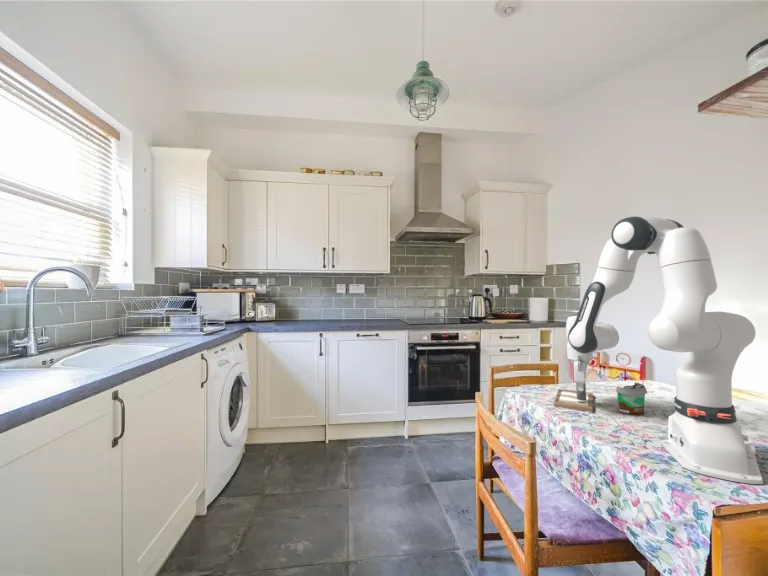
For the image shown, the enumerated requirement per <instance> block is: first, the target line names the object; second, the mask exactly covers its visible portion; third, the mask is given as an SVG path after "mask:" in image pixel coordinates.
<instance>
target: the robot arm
mask: <svg viewBox="0 0 768 576" xmlns="http://www.w3.org/2000/svg"><path fill="white" fill-rule="evenodd" d="M703 237H704V236H702V234H701V232H700V231H699V230H697V229H696V228H692V227H685V226H683V225H682V224H681V223H680V222H678V221H675V220H673V219H663V218H658V217H653V216H635V215H634V216H628V217H626V218H622V219H620V220H618V221H617V222H616V224H614V226H613V228H612V230H611V238H609V239H608V240H607V241H606V242H605V245H604V247H603V249H602V251H601V254H600V256H599V260H598V264H597V268H596V270H595V271H596V272H595V275H594V277H593V279H592V281H591V283H590V284H589V285H588V287H587V289H586V290H585V293H584V296H583V298H582V301H581V303H580V308H579V310H578V313H577V314H572V315H569V316H568V317H567V319H566V323H565V336H566V339H567V342H566V358H567V359H568V360H570V362H571V364H573V381H574V383H575V384H576V383H577V384H578V390H579V391H584V387H583V385H584V383H585V384H586V378H587V371H588V365H590V361H593V360H594V356H593V355H594V352H597V351H603V350H604V351H605V350H609V349H610V350H611V349H612V348H615V347H616V346H617V345H618V344H619V341H620V336H619V332H618V330H617V329H616V328H615V327H614V326H613V325H611V324H608V323H604V322H602V321H599V320H598V319H599V316H600V313H601V310H602V308H603V306H604V304H605V303H606V302H607V301H609V300H611V298H614V297H615V296H617V295H620V294H621V293H624V291H627V290H628V289H629V288H630V286H631V285H632V283H633V281H634V279H635V278H634V277H635V273H636V270H637V265H638V261H639V259H640V257H641V256H643V255H645V254H649V255H654V254H655V255H656V256H657V259H658V264H659V269H660V275H661V280H662V287H663V301H662V304H661V307H660V310H659V312H658V313H657V315H656V316H654V318H652V319H651V320H650V322H649V324H648V327H647V334H648V338H649V339H650V341H651V343H652V344H653V345H654V346H655V347H657V348H658V349H660V350H663V351H668V352H673V353H675V352H676V353H689V354H688V356H687V358H686V360H685V361H684V362H683V363H682V364H680V365H679V366H678V367H677V368H676V370H675V373H674V375H675V395H676V396H674V400H673V401H674V402H673V405H674V410H675V411H674V413H672V414H671V415H669V416H668V439H661V441H660V442H661V443H660V444H661V446H662V447H663V448H664V449H665V450H667V452H668V453H669V454H670V455H671V456H672V457H673V458H674V459H675V460H676V461H677V463H679V464H680V466H681V467H683V468H684V469H686V470H688V471H691V472H694V473H697V474H701V475H705V476H709V477H712V478H716V479H722V480H726V481H730V482H731V481H732V482H736V483H743V484H749V485H763V484H764V480H763V476H762V473H761V470H760V467H759V464H758V461H757V458H756V449H755V448H756V447H755V446H754V445H749V444H745V442H749V436H748V435H745V434H743V430H742V428H743V427H742V425H740V424H739V423H737V420H738V418H737V412H736V411H737V410H736V409H735V405H734V404H733V397H732V396H733V395H732V382H733V381H732V378H733V374H734V373H733V372H734V369H735V366H736V363H737V361H738V359H739V357H740V356H741V354H742V352H743V351H744V350H745V349H746V348H747V347H748V346H750V345H751V344H752V343H753V342H754V341H755V338H756V328H755V326H754V323H752V321H751V320H749V318H747V317H746V316H744V315H741V314H738V313H732V312H727V311H706V305H707V304H706V303H707V300H708V298H709V297H710V296H711V295H713V294H714V293H715V292H716V291H717V288H718V284H717V278H716V275H715V270H714V266H713V262H712V258H711V254H710V251H709V248H708V246H707V243H706V242H705V239H704V238H703ZM578 370H579V371H578Z"/></svg>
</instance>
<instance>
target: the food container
mask: <svg viewBox="0 0 768 576" xmlns="http://www.w3.org/2000/svg"><path fill="white" fill-rule="evenodd" d="M615 392H616V393H617V401H618V411H619V414H621V413H622V414H621V415H626V416H631V417H632V416H633V417H640V416H641V415H642V416H644V415H643V414H645V398H646V394H648V390H647V388H646V386H645V385H644V384H642V383H639V382H634V384H632V385H625V386H624V387H621V386H616V391H615Z"/></svg>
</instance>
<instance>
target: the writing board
mask: <svg viewBox="0 0 768 576" xmlns="http://www.w3.org/2000/svg"><path fill="white" fill-rule="evenodd" d="M556 393H557V394H556V396H555V399H554V402H553V407H554V406H557V407H556V408H560V407H563V408H562V409H566V408H570V409H569V410H573V409H576V410H575V411H580V410H581V411H582V412H587V411H589V412H588V413H593V410H594V408H593V407H594V393H593V392H588V391H586V402H579V401H577V392H576V390H571V389H569V390H568V389H561V388H559V389H558V390H557V392H556Z"/></svg>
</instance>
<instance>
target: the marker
mask: <svg viewBox="0 0 768 576" xmlns="http://www.w3.org/2000/svg"><path fill="white" fill-rule="evenodd" d="M578 371H579V370H578ZM583 387H584V391H579V390H578V384H577V383H575V391H576V392H577V401H579V402H586V392H587V390H586V389H587V387H586V382H585V383H584V385H583Z"/></svg>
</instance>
